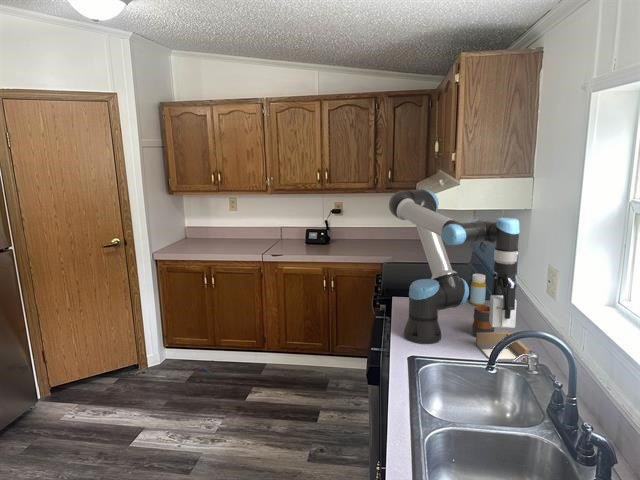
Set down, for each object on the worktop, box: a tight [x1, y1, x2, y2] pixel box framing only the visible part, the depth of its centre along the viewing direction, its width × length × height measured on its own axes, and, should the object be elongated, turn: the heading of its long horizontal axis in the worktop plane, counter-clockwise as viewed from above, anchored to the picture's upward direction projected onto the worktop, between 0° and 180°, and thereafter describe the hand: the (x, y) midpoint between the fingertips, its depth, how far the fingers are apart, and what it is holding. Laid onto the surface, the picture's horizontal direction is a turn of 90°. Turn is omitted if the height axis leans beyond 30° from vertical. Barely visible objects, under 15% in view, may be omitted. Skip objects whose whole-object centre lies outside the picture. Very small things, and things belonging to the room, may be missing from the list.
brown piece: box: [475, 331, 530, 364], centre depth 160 cm, size 13×16×5 cm
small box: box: [489, 294, 518, 329], centre depth 155 cm, size 8×6×10 cm
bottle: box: [469, 273, 487, 306], centre depth 215 cm, size 7×7×15 cm
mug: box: [471, 305, 495, 338], centre depth 178 cm, size 9×12×12 cm
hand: (501, 322), depth 156 cm, fingers closed on small box, 6 cm apart
